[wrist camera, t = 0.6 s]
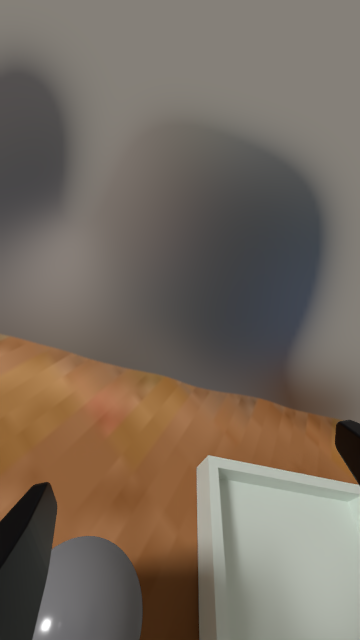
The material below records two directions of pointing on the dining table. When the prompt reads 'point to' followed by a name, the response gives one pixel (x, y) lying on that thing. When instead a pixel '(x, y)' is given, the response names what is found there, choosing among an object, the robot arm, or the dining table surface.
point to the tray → (276, 554)
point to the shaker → (90, 593)
